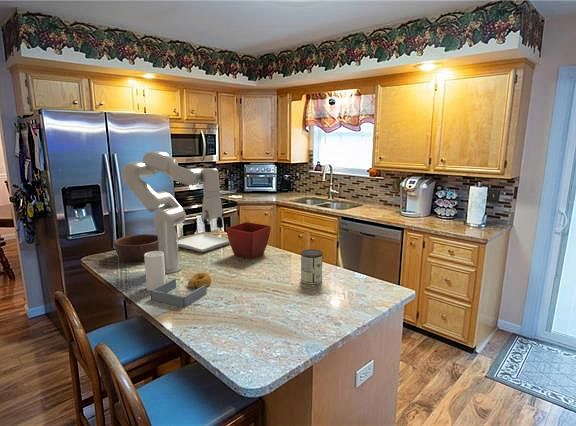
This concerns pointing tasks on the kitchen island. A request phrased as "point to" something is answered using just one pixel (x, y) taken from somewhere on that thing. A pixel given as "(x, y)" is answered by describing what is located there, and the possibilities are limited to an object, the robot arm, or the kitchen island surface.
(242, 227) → the plant pot
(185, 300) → the box
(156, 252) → the cup
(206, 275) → the bagel
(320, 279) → the coffee can
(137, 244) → the wooden bowl
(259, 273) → the kitchen island surface
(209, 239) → the square plate
